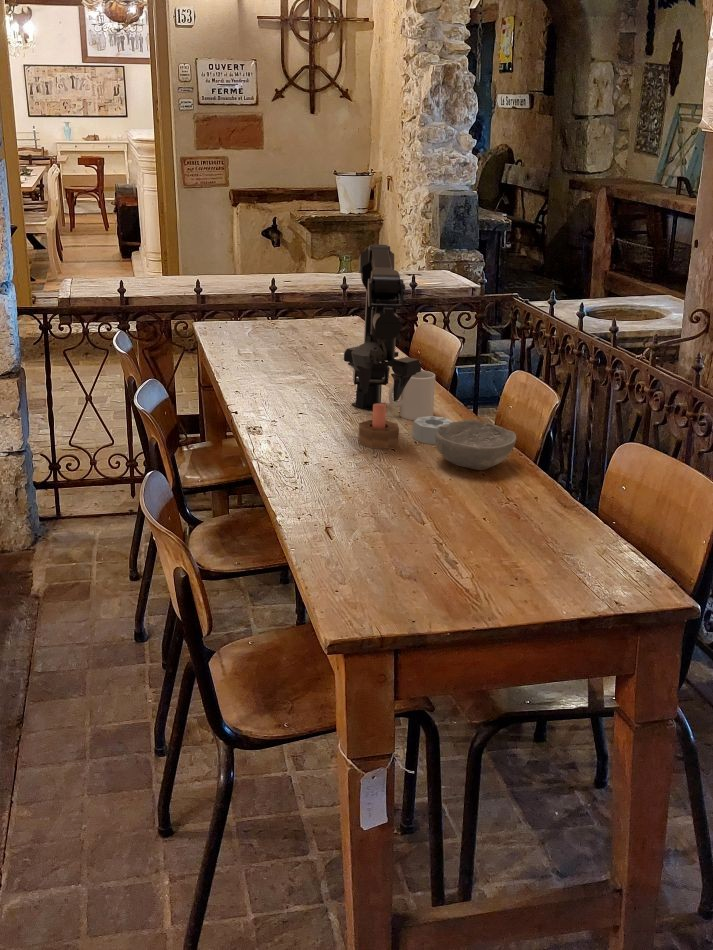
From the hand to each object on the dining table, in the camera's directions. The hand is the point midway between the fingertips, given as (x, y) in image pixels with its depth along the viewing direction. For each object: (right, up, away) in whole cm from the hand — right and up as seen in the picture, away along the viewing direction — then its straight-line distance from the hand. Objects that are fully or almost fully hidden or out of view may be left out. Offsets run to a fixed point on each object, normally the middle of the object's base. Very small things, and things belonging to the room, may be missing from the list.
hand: (380, 397), depth 237 cm
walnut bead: (0, -10, +4) cm, 11 cm away
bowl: (+20, -16, -9) cm, 27 cm away
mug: (+8, -3, +25) cm, 26 cm away
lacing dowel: (0, -10, +4) cm, 11 cm away
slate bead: (+13, -9, +8) cm, 18 cm away
